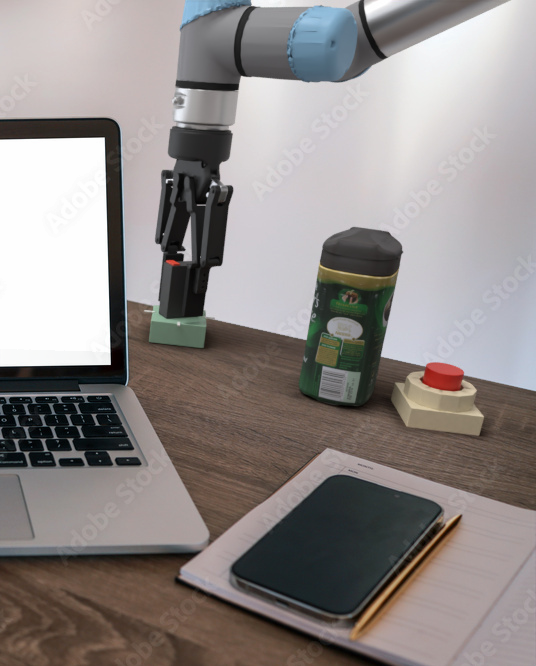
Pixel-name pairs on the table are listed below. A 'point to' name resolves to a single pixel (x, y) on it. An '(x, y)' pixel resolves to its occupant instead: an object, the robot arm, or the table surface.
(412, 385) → the button housing
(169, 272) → the black box red top
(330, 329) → the coffee jar
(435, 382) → the button
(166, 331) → the dial panel
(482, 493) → the table surface
